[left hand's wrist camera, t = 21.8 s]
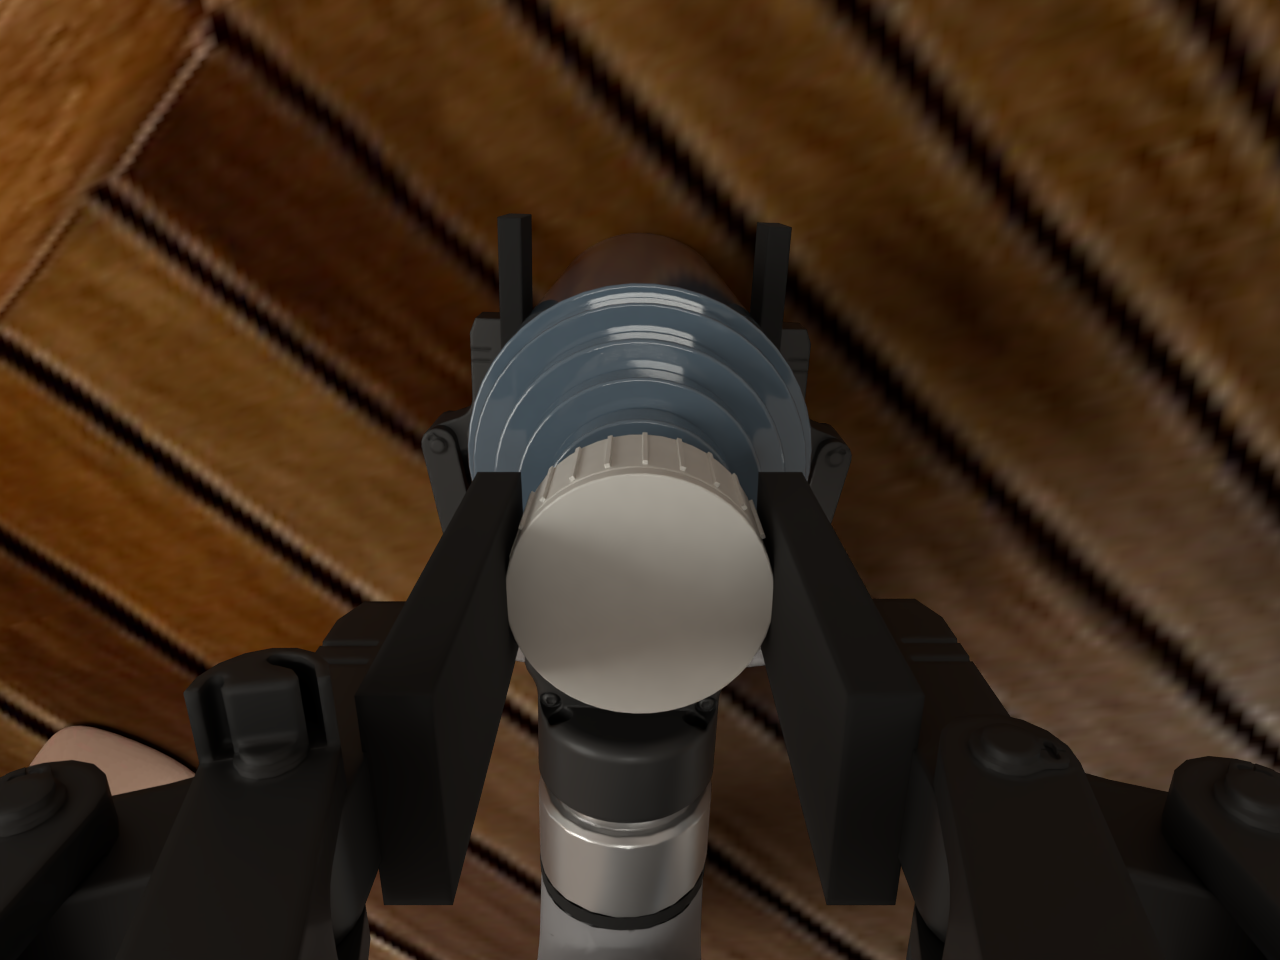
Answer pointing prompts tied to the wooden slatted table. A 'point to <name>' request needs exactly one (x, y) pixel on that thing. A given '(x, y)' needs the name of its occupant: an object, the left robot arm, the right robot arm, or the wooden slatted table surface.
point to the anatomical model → (114, 758)
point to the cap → (639, 576)
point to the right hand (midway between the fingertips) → (644, 220)
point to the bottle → (639, 370)
